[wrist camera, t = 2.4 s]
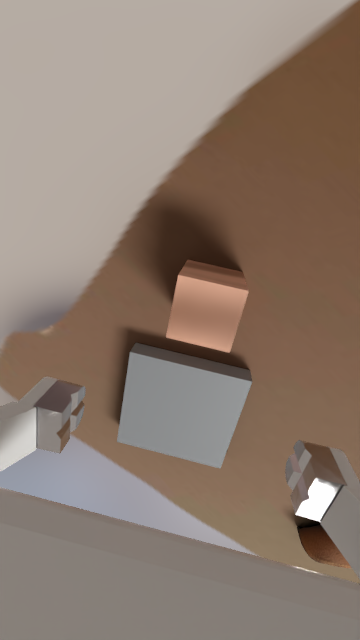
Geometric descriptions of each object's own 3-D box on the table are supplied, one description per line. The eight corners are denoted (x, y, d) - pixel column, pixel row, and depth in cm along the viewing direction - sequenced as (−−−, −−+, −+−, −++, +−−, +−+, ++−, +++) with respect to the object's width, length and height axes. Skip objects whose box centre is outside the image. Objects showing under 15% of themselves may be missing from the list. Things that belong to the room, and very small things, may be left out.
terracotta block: (187, 259, 25) (178, 274, 19) (242, 271, 25) (248, 291, 19) (177, 310, 27) (165, 337, 21) (227, 322, 27) (229, 352, 21)
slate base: (135, 342, 29) (129, 351, 27) (250, 370, 28) (252, 381, 26) (122, 428, 34) (117, 441, 32) (220, 453, 33) (220, 468, 31)
